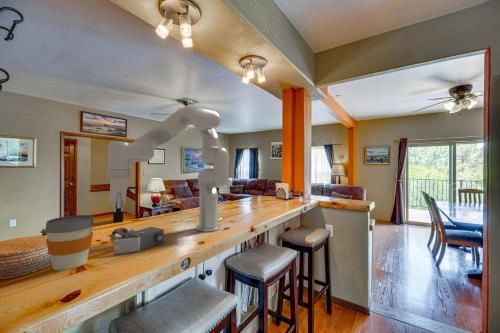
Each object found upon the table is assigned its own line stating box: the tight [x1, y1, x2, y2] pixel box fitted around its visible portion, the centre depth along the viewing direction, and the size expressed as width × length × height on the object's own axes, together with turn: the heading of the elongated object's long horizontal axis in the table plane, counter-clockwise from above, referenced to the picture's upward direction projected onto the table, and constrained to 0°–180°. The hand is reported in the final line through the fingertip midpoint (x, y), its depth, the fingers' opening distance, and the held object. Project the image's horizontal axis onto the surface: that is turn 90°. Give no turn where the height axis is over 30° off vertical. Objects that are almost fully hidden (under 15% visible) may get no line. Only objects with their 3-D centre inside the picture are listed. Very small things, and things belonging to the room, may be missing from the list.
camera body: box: [128, 226, 165, 252], centre depth 91 cm, size 11×10×6 cm
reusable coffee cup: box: [44, 214, 95, 271], centre depth 73 cm, size 13×13×15 cm
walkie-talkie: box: [111, 226, 136, 240], centre depth 99 cm, size 9×4×20 cm
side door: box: [113, 237, 141, 255], centre depth 82 cm, size 1×9×5 cm, turn 112°
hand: (118, 222), depth 83 cm, fingers closed
